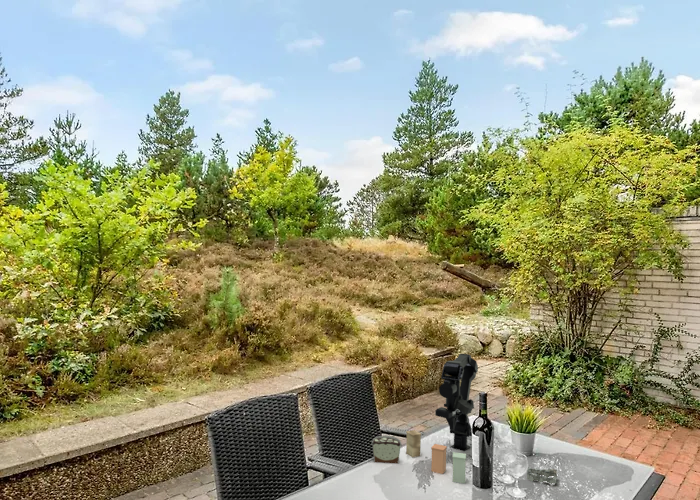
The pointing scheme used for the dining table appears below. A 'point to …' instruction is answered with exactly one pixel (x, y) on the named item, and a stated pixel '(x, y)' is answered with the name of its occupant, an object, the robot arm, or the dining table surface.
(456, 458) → the sage key
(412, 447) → the oak key
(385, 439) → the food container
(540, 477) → the egg carton
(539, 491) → the dining table surface
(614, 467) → the dining table surface
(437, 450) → the orange rectangular block
